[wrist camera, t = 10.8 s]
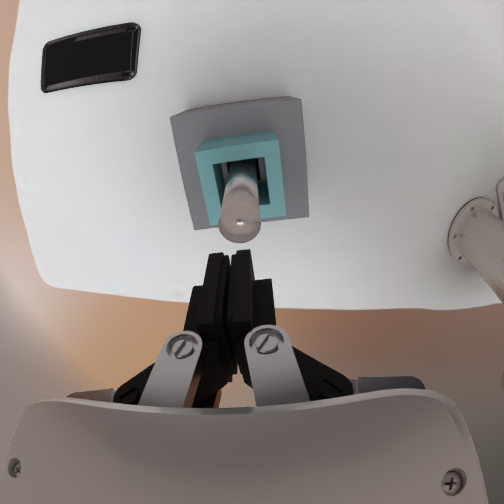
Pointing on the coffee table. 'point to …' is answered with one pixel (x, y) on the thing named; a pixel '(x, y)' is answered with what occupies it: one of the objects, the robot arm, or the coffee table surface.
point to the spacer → (240, 149)
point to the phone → (91, 57)
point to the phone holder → (500, 196)
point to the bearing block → (236, 123)
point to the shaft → (240, 203)
